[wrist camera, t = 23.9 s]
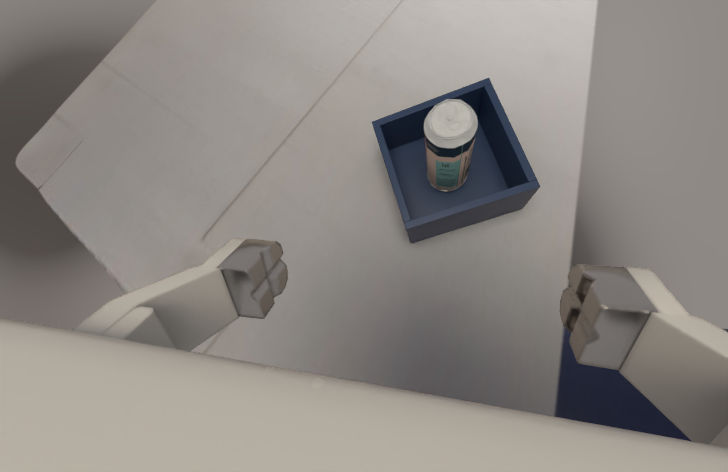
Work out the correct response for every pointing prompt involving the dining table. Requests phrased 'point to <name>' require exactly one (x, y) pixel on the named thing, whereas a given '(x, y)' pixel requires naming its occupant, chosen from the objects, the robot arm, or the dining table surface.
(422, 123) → the bin
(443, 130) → the coffee can
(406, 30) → the dining table surface
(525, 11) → the dining table surface
